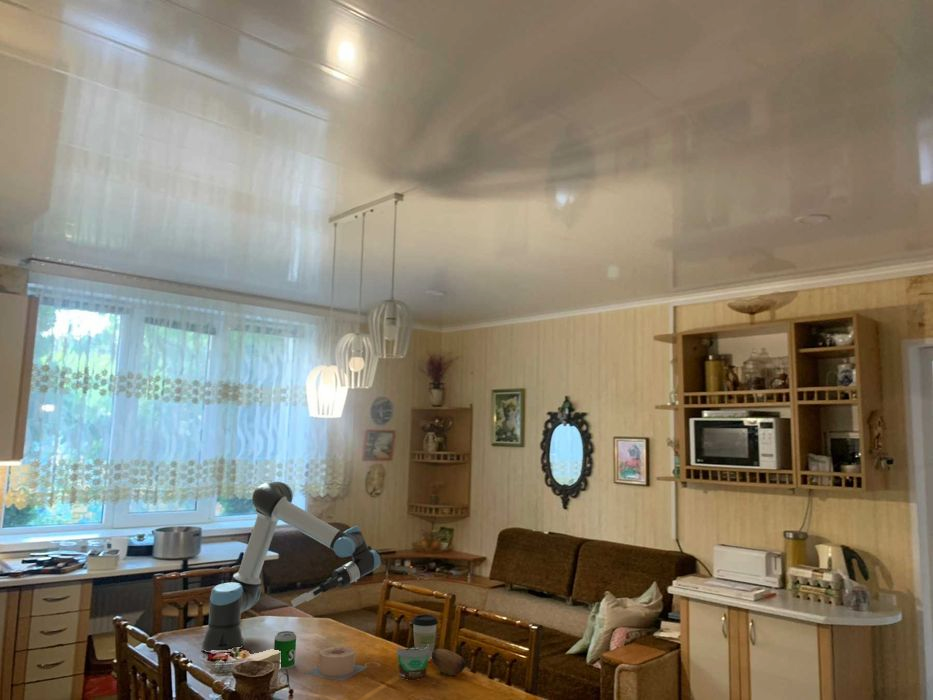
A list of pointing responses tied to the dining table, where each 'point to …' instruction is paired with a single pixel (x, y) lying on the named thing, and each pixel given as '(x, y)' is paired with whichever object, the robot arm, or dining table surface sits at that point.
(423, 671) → the food container
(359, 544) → the robot arm
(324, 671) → the beige hollow cylinder
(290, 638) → the soda can
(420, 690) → the dining table surface
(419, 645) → the coffee cup
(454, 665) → the potato
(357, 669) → the rubber mat
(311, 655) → the dining table surface
